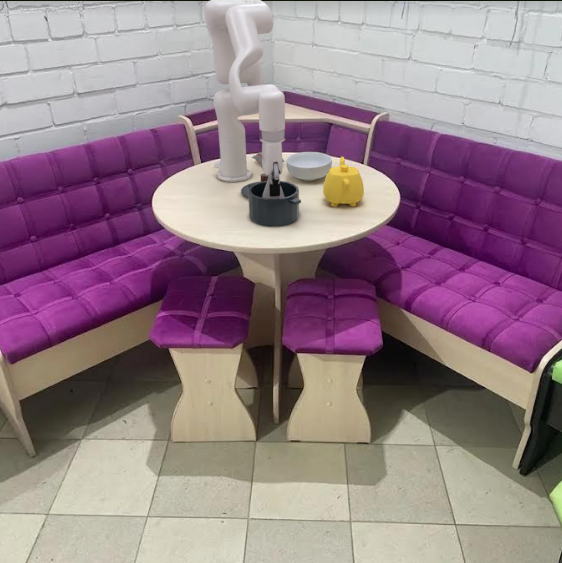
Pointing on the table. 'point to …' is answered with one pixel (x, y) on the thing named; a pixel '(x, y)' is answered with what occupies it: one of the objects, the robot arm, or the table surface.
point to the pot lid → (245, 189)
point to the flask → (267, 190)
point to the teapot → (343, 185)
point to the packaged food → (260, 157)
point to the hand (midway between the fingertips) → (273, 191)
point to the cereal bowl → (309, 165)
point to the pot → (273, 205)
